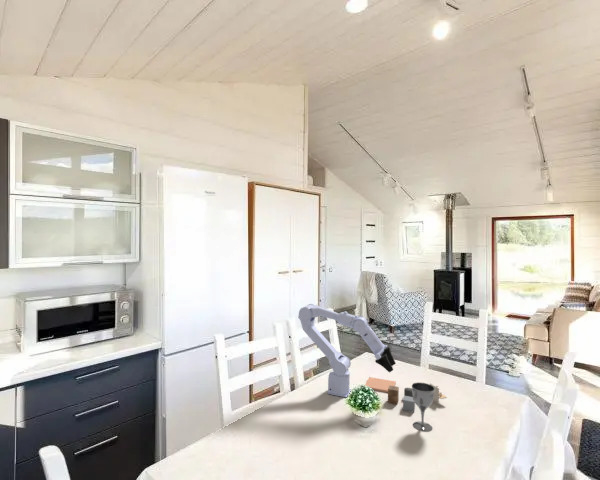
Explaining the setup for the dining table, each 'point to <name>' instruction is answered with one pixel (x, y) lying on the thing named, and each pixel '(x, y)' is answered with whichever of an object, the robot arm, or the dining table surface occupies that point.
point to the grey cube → (408, 404)
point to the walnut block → (393, 394)
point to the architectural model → (437, 394)
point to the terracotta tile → (379, 384)
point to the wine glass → (422, 403)
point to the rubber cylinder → (408, 392)
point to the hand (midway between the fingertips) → (392, 367)
